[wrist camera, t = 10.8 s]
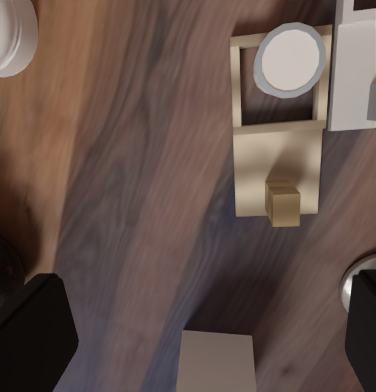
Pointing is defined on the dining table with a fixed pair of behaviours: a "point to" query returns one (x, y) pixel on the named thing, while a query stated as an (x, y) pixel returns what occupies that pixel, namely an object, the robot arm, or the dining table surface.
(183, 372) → the milk
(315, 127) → the beige frame tray
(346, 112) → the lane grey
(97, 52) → the dining table surface
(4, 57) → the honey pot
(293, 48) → the white round container
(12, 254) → the glass bottle
